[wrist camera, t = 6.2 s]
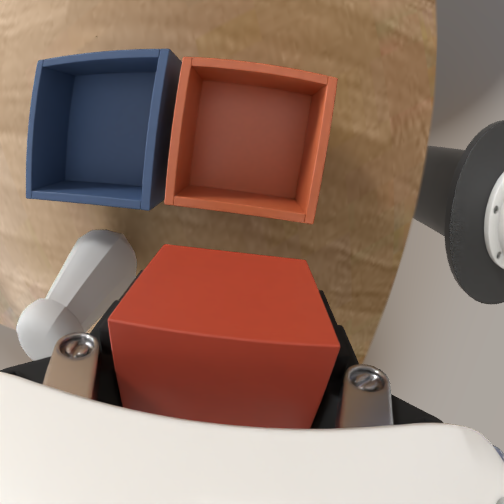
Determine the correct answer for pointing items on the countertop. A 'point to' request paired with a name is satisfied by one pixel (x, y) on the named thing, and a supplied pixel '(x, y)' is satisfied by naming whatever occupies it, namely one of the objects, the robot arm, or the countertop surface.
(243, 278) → the red block
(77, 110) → the blue bin
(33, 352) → the salt shaker
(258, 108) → the orange bin
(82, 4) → the countertop surface
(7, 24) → the countertop surface
